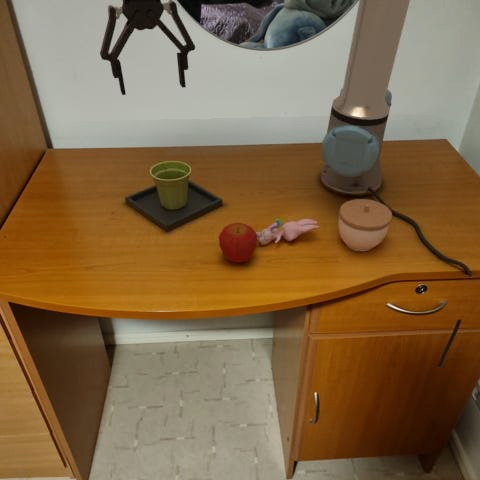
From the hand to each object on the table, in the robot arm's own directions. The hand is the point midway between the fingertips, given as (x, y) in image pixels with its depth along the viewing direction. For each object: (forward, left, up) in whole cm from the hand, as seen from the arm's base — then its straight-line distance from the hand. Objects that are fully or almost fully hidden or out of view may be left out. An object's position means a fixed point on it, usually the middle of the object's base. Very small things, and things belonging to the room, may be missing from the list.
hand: (153, 89), depth 109 cm
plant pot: (-11, +5, -22) cm, 26 cm away
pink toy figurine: (-39, -4, -23) cm, 45 cm away
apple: (-37, +8, -23) cm, 44 cm away
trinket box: (-51, -15, -23) cm, 58 cm away
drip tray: (-11, +5, -22) cm, 26 cm away
